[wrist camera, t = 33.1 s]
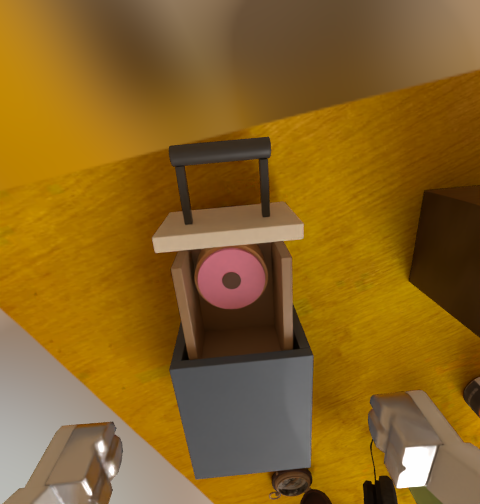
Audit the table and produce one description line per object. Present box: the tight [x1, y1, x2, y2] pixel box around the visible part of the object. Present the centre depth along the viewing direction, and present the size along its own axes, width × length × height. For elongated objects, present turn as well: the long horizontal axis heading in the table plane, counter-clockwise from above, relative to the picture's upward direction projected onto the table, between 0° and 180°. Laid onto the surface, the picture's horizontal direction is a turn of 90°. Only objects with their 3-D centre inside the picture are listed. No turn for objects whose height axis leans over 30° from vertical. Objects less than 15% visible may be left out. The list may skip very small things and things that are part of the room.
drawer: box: [152, 137, 304, 360], centre depth 24 cm, size 19×11×7 cm, turn 5°
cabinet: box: [169, 303, 313, 479], centre depth 30 cm, size 15×12×9 cm
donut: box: [194, 243, 268, 309], centre depth 25 cm, size 6×6×3 cm
